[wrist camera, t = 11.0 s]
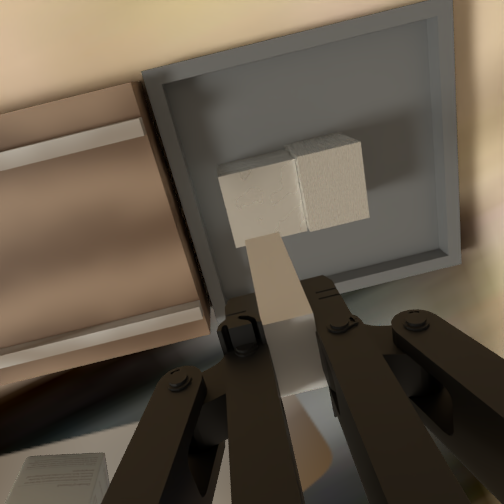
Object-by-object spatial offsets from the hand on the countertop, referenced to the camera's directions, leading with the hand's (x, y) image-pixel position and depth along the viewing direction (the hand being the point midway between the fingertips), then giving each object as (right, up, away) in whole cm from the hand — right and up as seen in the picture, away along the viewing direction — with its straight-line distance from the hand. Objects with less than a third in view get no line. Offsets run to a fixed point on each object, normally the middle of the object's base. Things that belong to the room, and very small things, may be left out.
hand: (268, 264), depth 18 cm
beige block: (+2, +5, +11) cm, 12 cm away
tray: (+4, +6, +14) cm, 16 cm away
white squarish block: (0, +5, +13) cm, 14 cm away
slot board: (-16, +1, +14) cm, 21 cm away
